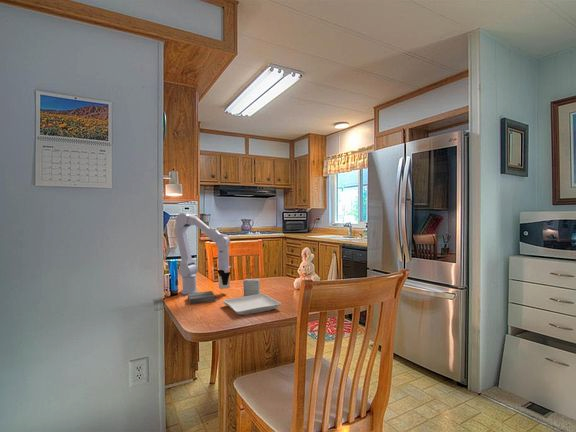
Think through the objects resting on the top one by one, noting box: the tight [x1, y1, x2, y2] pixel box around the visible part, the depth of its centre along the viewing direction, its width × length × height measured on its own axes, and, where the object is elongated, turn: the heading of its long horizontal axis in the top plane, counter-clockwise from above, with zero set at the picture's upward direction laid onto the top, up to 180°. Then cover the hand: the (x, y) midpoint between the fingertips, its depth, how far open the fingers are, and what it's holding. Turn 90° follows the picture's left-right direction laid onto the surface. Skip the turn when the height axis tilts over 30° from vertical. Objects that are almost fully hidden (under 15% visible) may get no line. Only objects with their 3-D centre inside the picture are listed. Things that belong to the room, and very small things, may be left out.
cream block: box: [218, 275, 231, 290], centre depth 174 cm, size 5×5×6 cm
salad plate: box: [222, 293, 282, 316], centre depth 147 cm, size 21×21×3 cm
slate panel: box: [187, 290, 217, 305], centre depth 162 cm, size 12×12×3 cm
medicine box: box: [242, 278, 261, 297], centre depth 167 cm, size 8×4×9 cm, turn 84°
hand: (224, 283), depth 174 cm, fingers closed on cream block, 5 cm apart
